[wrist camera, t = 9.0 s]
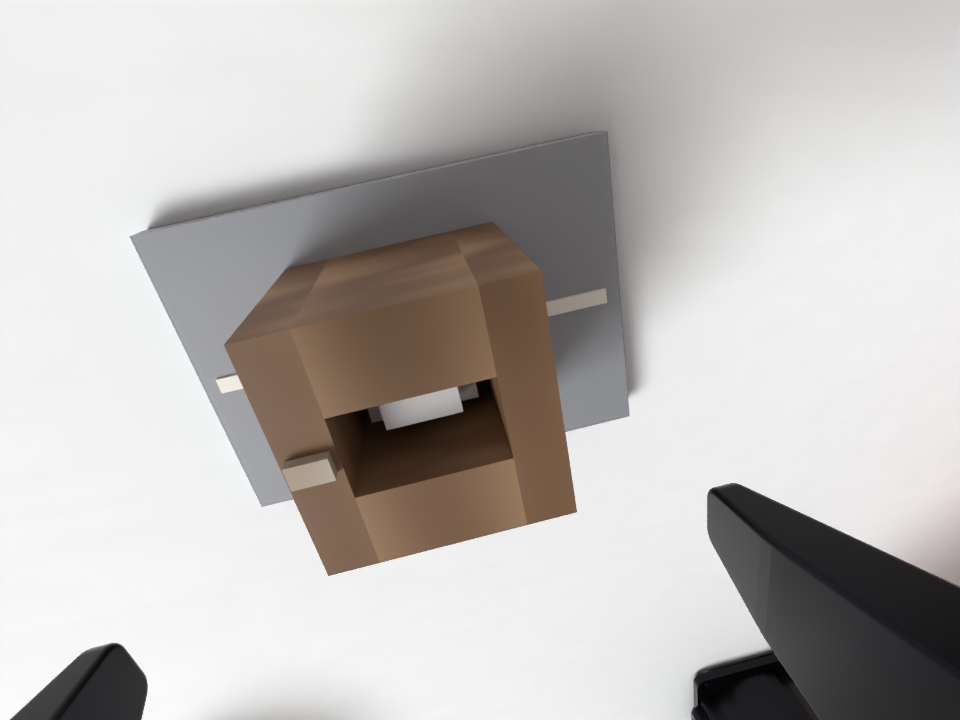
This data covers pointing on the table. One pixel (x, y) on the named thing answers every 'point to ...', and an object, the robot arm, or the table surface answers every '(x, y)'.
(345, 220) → the switch plate
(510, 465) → the hollow wooden cube
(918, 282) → the table surface
